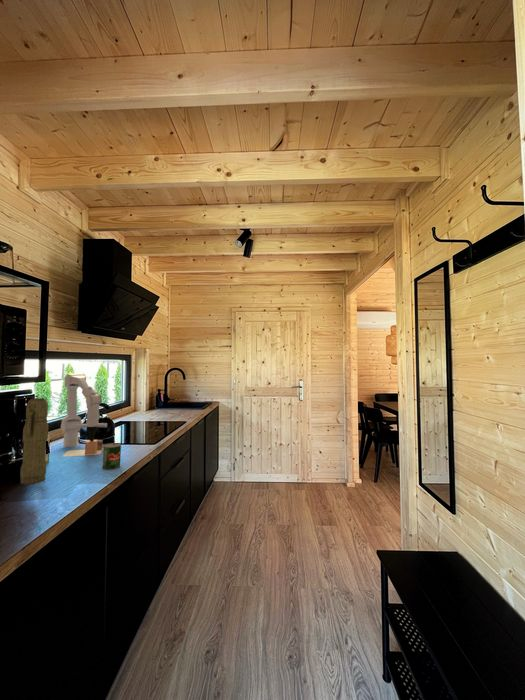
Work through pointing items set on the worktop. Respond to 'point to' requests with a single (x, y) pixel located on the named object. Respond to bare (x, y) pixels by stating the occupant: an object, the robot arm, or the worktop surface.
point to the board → (79, 453)
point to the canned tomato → (111, 456)
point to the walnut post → (99, 445)
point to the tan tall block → (35, 442)
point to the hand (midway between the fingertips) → (91, 440)
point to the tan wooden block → (91, 447)
